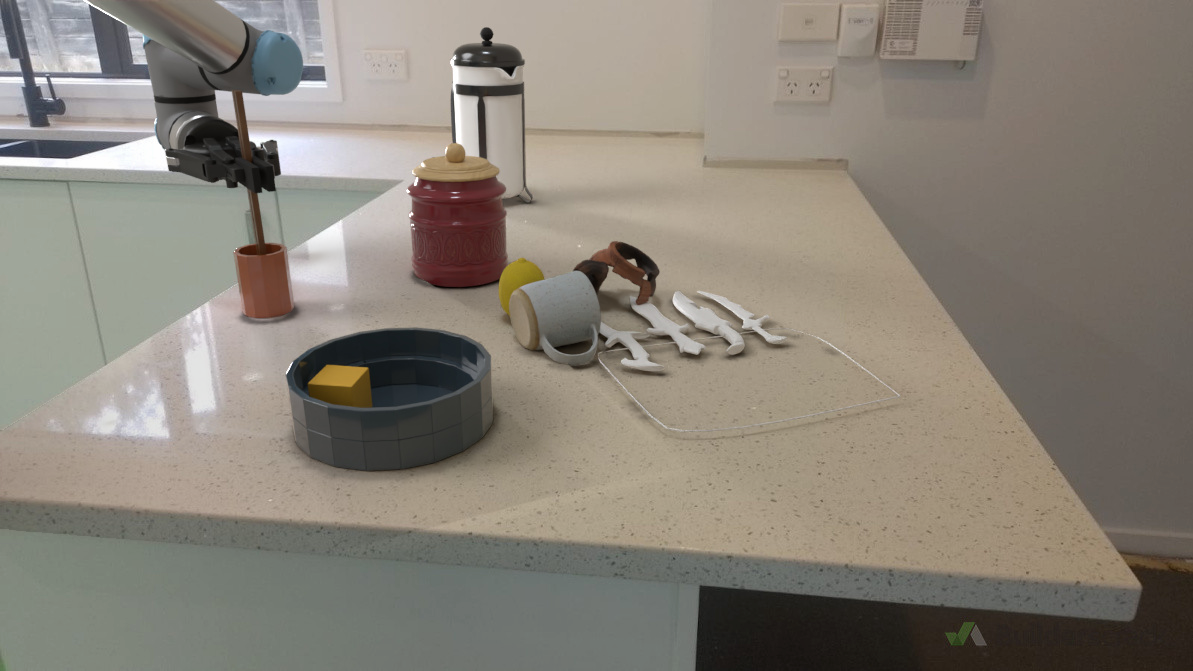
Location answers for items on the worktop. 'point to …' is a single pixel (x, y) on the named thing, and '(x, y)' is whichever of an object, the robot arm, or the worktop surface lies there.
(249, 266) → the holder
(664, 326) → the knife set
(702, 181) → the worktop surface
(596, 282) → the broken clay pot
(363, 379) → the block
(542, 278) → the lemon
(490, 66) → the coffee press
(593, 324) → the ceramic mug
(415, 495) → the worktop surface
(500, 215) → the kitchen canister
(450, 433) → the bowl
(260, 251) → the chopsticks
